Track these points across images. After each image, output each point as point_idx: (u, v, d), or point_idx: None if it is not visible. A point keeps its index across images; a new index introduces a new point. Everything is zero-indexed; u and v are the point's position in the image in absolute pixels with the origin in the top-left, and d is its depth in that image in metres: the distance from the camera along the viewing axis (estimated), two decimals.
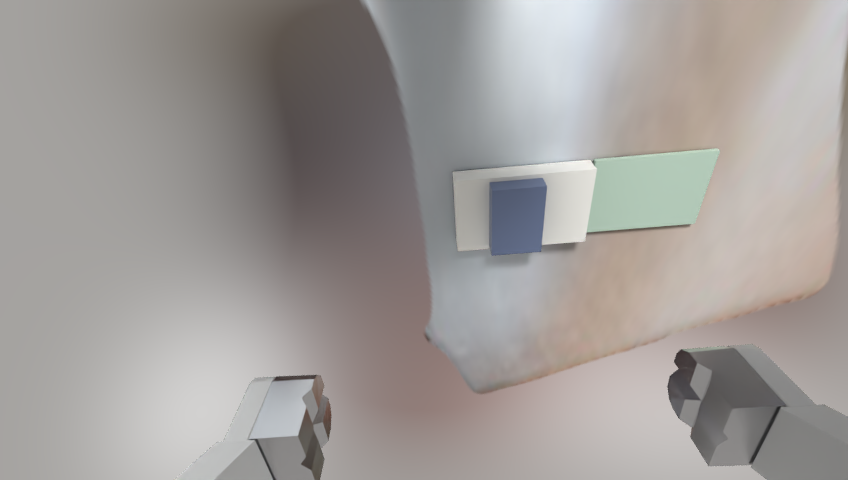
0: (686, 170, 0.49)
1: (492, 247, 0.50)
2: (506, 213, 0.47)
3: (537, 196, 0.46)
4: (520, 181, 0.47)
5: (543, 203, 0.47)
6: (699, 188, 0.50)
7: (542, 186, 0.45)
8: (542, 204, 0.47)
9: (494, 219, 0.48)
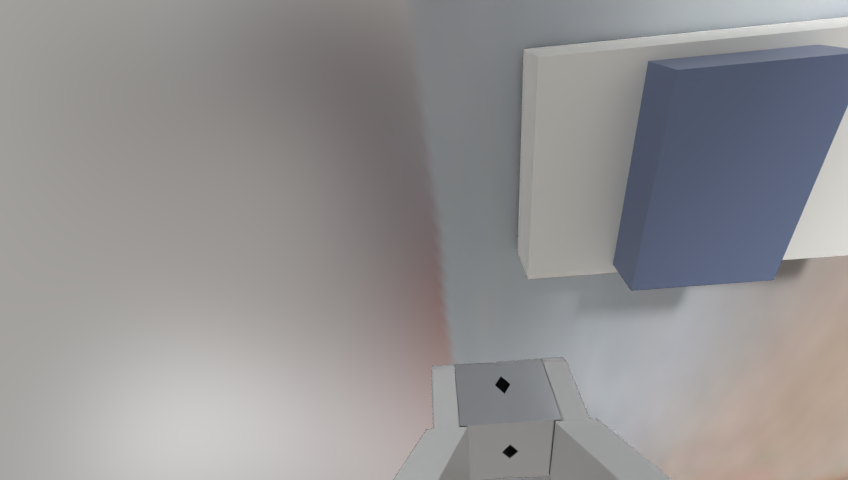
0: None
1: (637, 267, 0.17)
2: (706, 158, 0.15)
3: (822, 94, 0.14)
4: (753, 53, 0.15)
5: (834, 120, 0.14)
6: None
7: None
8: (832, 123, 0.14)
9: (662, 177, 0.15)
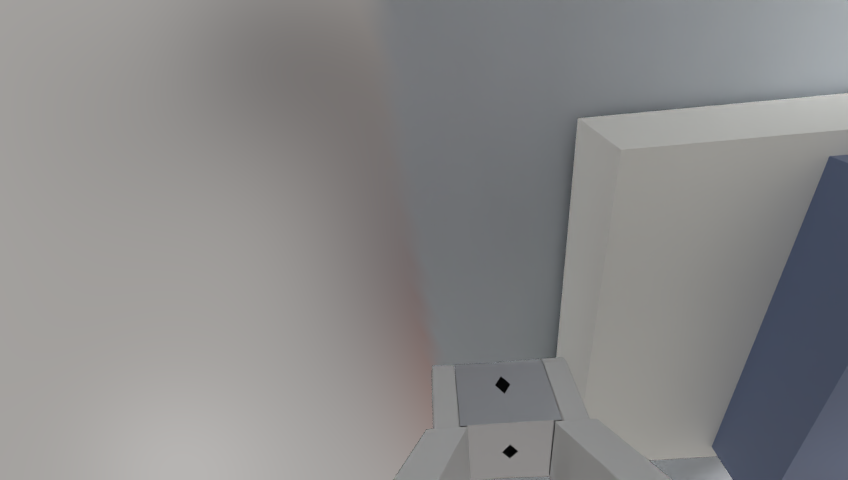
0: None
1: None
2: None
3: None
4: None
5: None
6: None
7: None
8: None
9: None
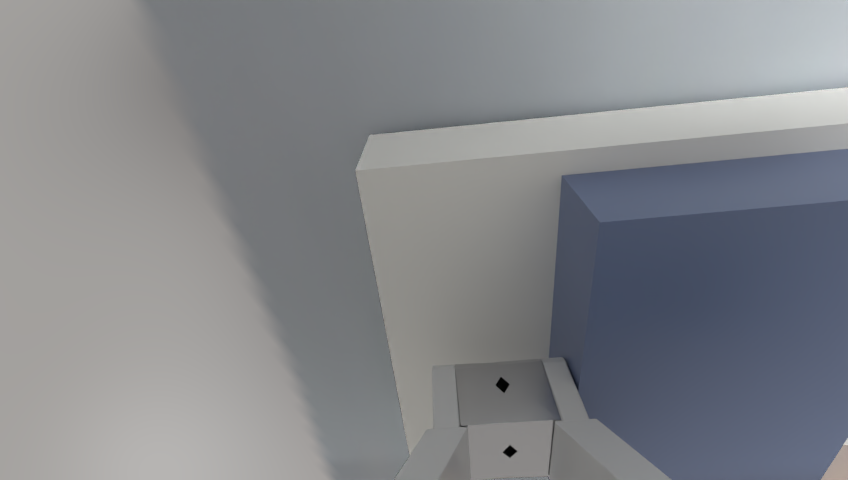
0: None
1: None
2: (672, 360, 0.08)
3: None
4: (757, 166, 0.08)
5: None
6: None
7: None
8: None
9: (592, 387, 0.08)
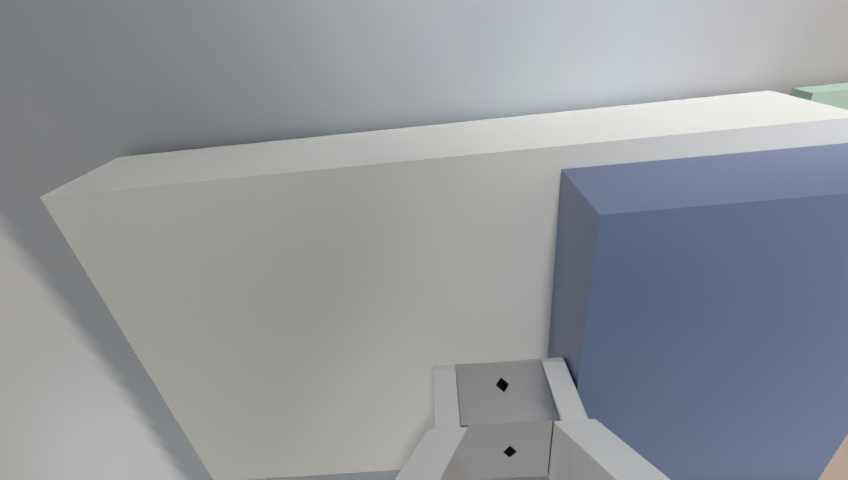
0: None
1: None
2: (672, 355, 0.08)
3: None
4: (757, 159, 0.08)
5: None
6: None
7: None
8: None
9: (591, 382, 0.08)
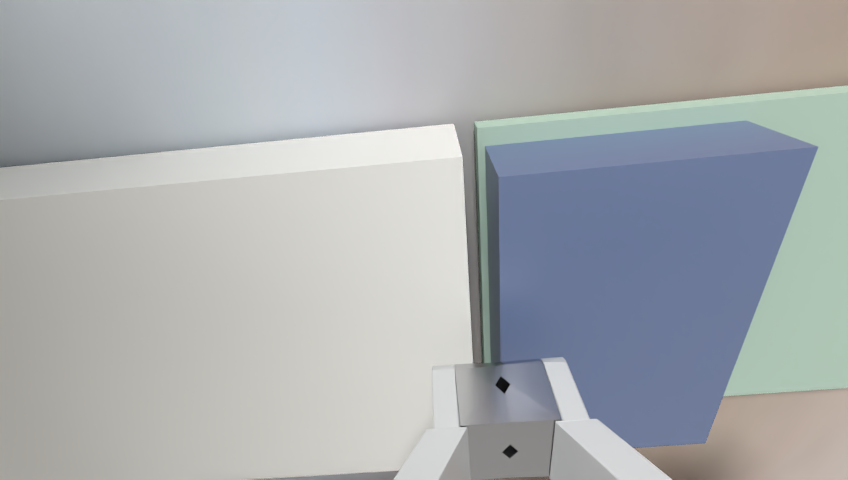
0: None
1: None
2: (574, 297, 0.10)
3: (744, 209, 0.08)
4: (640, 136, 0.09)
5: (769, 246, 0.09)
6: None
7: (786, 147, 0.08)
8: (765, 249, 0.09)
9: (511, 322, 0.10)
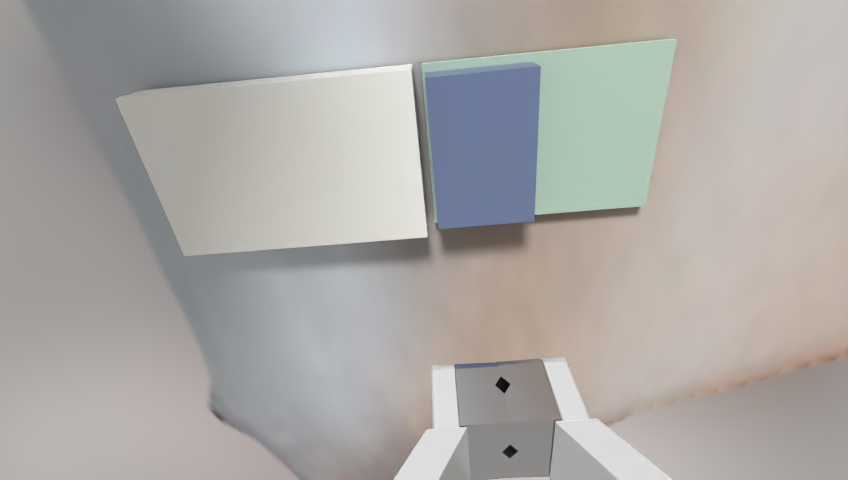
0: (612, 86, 0.24)
1: (438, 211, 0.26)
2: (460, 134, 0.23)
3: (520, 92, 0.22)
4: (486, 67, 0.23)
5: (534, 109, 0.22)
6: (645, 129, 0.25)
7: (530, 66, 0.21)
8: (533, 111, 0.22)
9: (436, 147, 0.23)
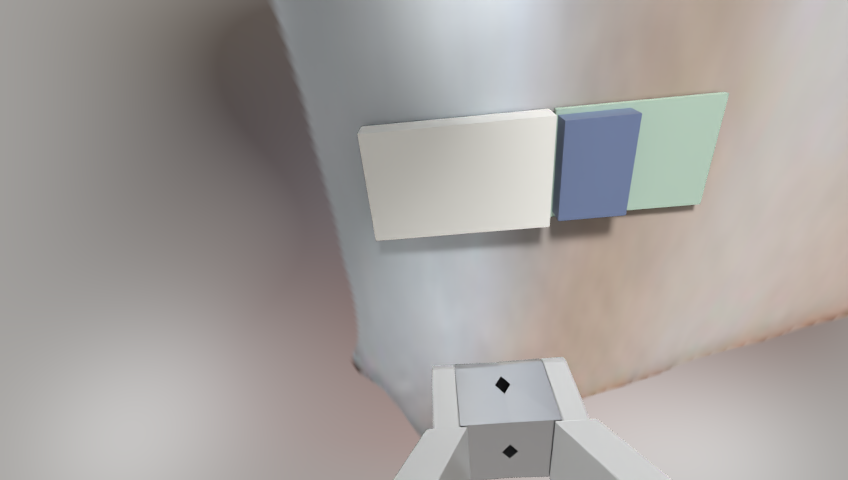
0: (683, 123, 0.35)
1: (560, 208, 0.37)
2: (583, 156, 0.34)
3: (627, 129, 0.33)
4: (601, 111, 0.34)
5: (635, 140, 0.34)
6: (703, 151, 0.36)
7: (635, 113, 0.33)
8: (634, 141, 0.34)
9: (565, 165, 0.35)
